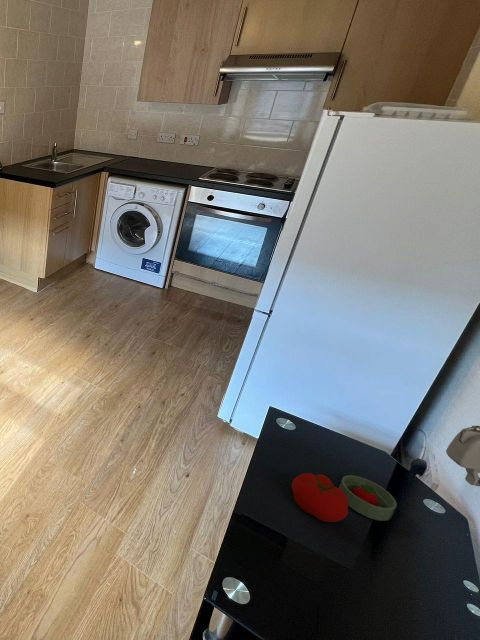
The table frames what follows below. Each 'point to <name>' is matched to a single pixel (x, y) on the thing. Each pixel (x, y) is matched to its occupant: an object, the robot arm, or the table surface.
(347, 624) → the table surface
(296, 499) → the tomato
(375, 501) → the strawberry
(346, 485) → the bowl
